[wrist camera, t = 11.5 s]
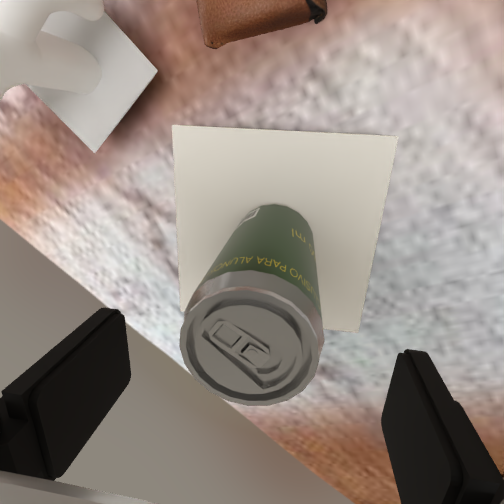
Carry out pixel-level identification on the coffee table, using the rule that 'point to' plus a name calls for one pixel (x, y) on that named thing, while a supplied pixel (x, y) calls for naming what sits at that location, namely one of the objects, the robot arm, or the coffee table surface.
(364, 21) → the coffee table surface
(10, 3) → the figurine
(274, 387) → the beer can
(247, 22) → the sunglasses case
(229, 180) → the riser block
